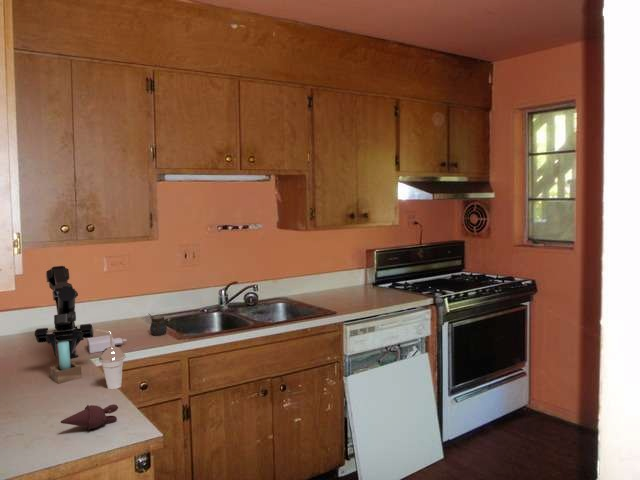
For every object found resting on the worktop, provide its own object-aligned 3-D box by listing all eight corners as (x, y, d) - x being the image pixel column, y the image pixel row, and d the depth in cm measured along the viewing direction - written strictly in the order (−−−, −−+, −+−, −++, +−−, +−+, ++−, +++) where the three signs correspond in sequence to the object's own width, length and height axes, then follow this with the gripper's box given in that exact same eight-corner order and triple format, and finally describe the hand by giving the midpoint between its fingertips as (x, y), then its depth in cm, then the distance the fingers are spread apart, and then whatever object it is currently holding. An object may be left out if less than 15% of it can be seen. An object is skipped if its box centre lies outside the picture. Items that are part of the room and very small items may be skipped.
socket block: (50, 378, 198) (49, 367, 197) (73, 372, 203) (72, 361, 203) (58, 383, 192) (57, 372, 191) (81, 377, 197) (80, 366, 197)
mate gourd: (167, 335, 247) (165, 313, 245) (149, 337, 245) (147, 315, 243) (167, 331, 254) (165, 310, 252) (150, 333, 252) (148, 311, 250)
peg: (59, 378, 198) (56, 342, 196) (69, 375, 200) (66, 340, 198) (62, 380, 195) (59, 344, 193) (73, 377, 197) (70, 342, 196)
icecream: (62, 419, 148) (121, 410, 156) (59, 403, 154) (116, 395, 162) (61, 440, 150) (119, 431, 158) (58, 424, 156) (114, 415, 164)
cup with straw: (110, 393, 182) (105, 334, 179) (94, 387, 187) (90, 329, 185) (132, 385, 188) (128, 327, 186) (117, 379, 194) (113, 324, 192)
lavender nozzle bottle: (128, 348, 231) (90, 354, 224) (125, 342, 239) (87, 348, 232) (128, 337, 230) (89, 343, 223) (124, 331, 239) (86, 337, 232)
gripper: (33, 306, 196) (29, 346, 186) (90, 302, 201) (88, 340, 191) (39, 323, 204) (36, 361, 195) (94, 318, 209) (93, 355, 200)
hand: (63, 354), depth 195 cm, fingers open, 5 cm apart
